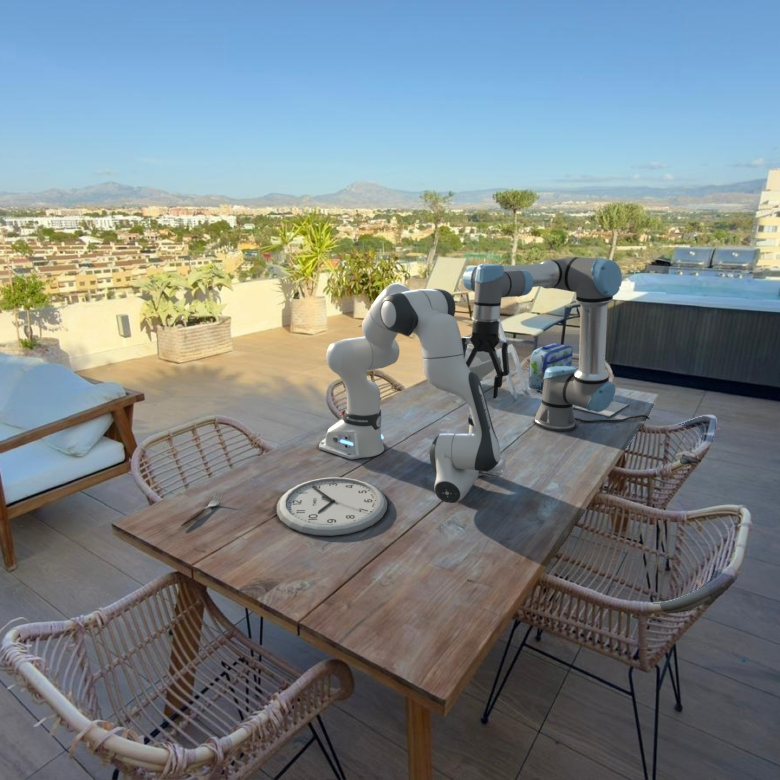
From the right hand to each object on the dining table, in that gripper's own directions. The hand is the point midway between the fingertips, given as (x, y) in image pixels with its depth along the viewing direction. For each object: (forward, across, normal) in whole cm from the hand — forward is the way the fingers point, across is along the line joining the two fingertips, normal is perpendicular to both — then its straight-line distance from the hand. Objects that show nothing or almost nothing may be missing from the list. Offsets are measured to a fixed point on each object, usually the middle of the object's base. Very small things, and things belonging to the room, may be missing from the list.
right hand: (480, 395), depth 156 cm
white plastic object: (+25, +20, -82) cm, 88 cm away
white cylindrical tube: (+25, 0, 0) cm, 25 cm away
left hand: (+19, 0, -1) cm, 19 cm away
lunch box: (+25, -8, -104) cm, 108 cm away
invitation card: (+25, -33, -86) cm, 95 cm away
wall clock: (+25, +30, +37) cm, 54 cm away
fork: (+25, +59, +55) cm, 85 cm away
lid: (+7, 0, 0) cm, 7 cm away
